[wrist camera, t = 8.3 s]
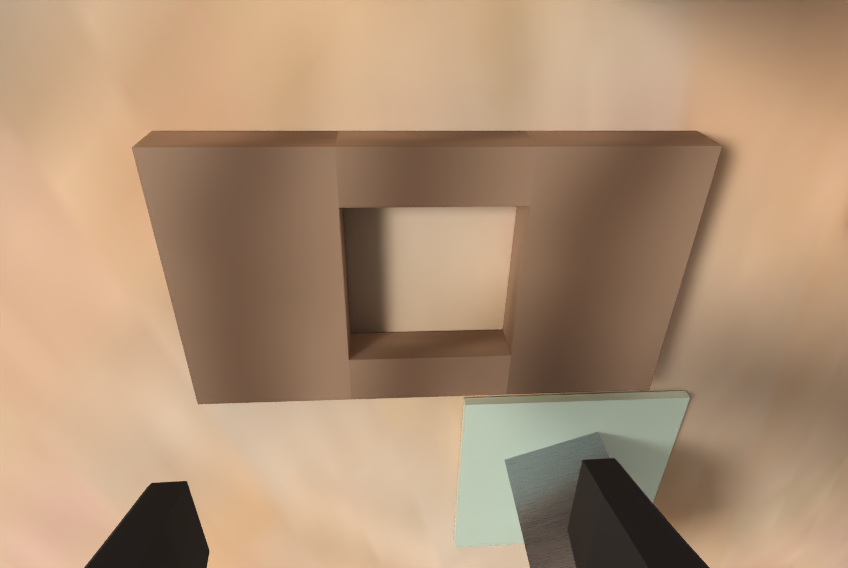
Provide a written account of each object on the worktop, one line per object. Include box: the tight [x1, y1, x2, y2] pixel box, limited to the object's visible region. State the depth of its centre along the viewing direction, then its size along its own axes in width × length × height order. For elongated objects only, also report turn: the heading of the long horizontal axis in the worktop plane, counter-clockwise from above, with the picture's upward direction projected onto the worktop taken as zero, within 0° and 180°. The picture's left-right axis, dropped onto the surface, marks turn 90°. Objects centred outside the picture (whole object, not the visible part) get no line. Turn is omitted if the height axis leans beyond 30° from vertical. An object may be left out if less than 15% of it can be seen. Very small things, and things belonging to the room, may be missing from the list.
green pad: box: [453, 391, 690, 547], centre depth 24 cm, size 9×9×1 cm
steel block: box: [505, 432, 609, 568], centre depth 21 cm, size 4×4×7 cm
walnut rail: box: [132, 131, 722, 404], centre depth 18 cm, size 16×9×2 cm, turn 89°
